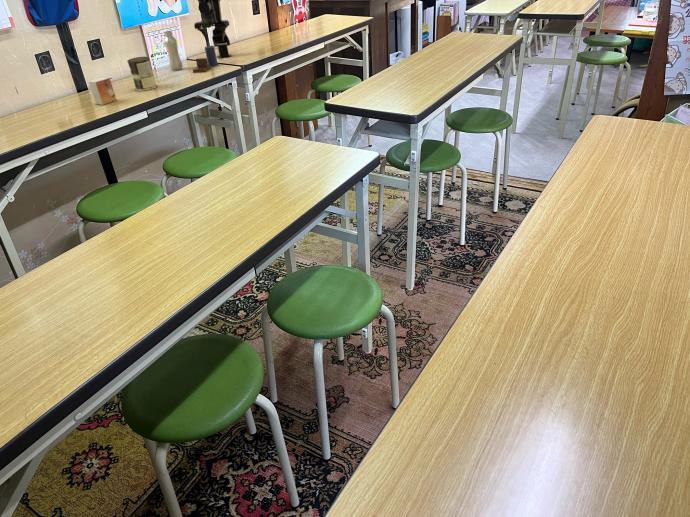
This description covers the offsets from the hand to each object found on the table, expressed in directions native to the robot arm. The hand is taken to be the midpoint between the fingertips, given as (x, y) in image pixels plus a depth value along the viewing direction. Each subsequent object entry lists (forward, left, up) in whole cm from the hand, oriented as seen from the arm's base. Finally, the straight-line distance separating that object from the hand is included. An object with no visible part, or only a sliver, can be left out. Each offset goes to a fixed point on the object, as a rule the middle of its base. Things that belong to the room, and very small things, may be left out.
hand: (215, 41), depth 291 cm
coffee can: (+21, -48, -12) cm, 54 cm away
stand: (+9, -14, -12) cm, 20 cm away
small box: (+31, -70, -12) cm, 78 cm away
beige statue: (-5, -23, -12) cm, 27 cm away
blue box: (+4, -5, -7) cm, 9 cm away
